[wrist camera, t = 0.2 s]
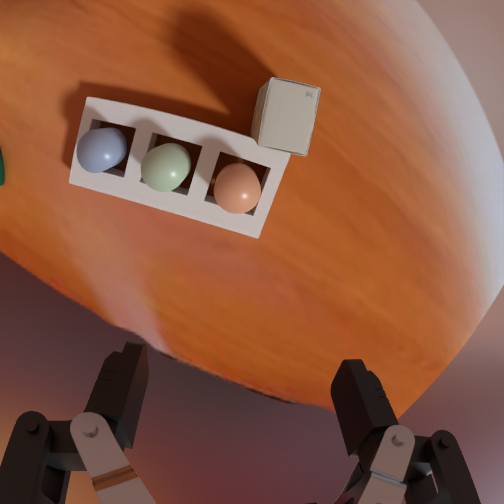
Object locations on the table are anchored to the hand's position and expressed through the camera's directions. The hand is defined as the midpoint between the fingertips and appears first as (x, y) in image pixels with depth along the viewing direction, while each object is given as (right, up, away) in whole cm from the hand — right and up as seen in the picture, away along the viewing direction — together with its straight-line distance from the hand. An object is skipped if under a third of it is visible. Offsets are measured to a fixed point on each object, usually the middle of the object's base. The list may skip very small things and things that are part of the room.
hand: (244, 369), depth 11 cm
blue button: (-16, +17, +20) cm, 31 cm away
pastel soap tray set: (-9, +16, +23) cm, 30 cm away
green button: (-9, +15, +21) cm, 27 cm away
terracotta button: (-1, +12, +23) cm, 26 cm away
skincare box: (+3, +21, +22) cm, 31 cm away
